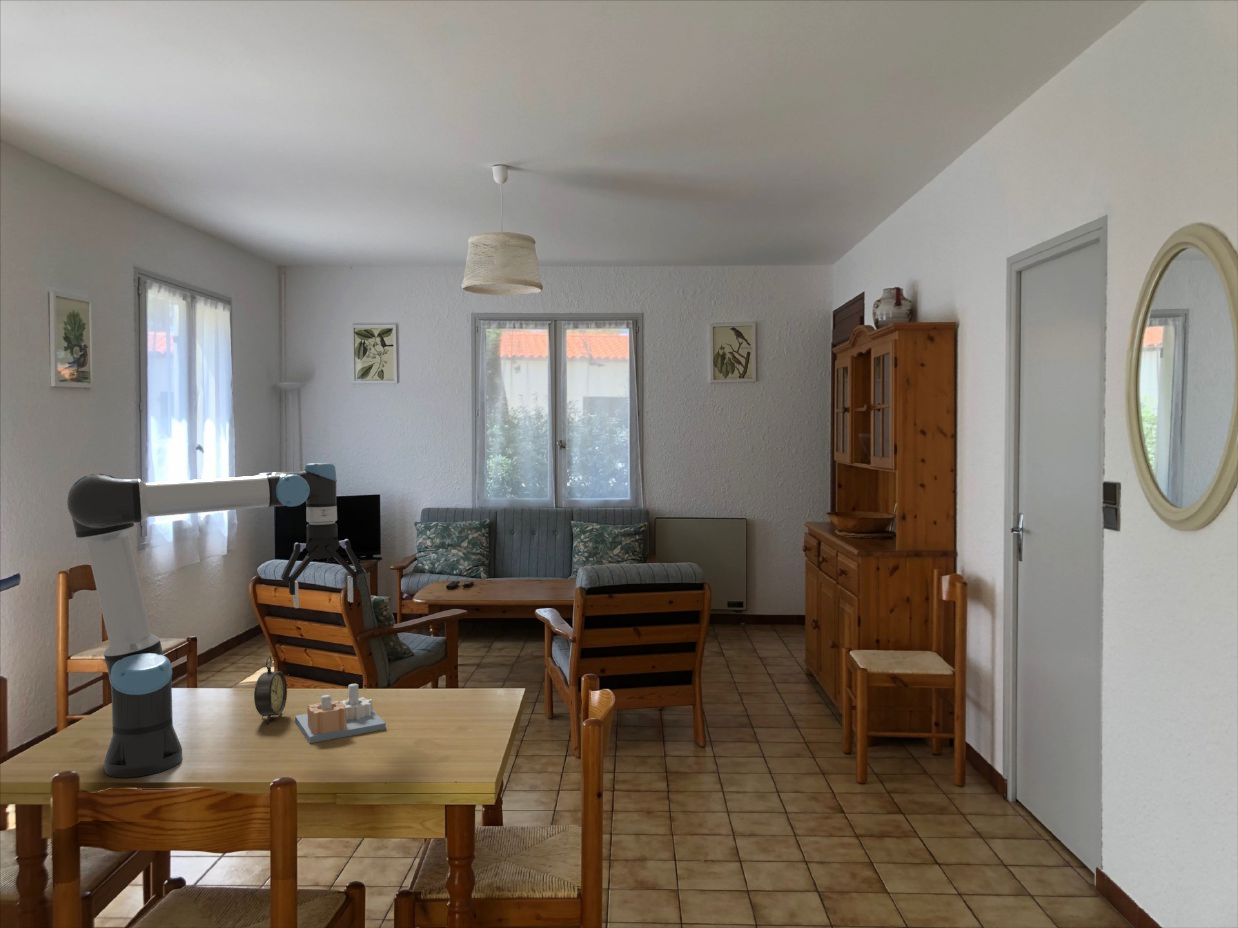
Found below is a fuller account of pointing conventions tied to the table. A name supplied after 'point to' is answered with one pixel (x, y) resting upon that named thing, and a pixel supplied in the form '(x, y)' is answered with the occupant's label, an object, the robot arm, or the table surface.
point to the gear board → (357, 717)
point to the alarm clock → (270, 693)
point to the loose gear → (327, 717)
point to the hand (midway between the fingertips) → (323, 604)
